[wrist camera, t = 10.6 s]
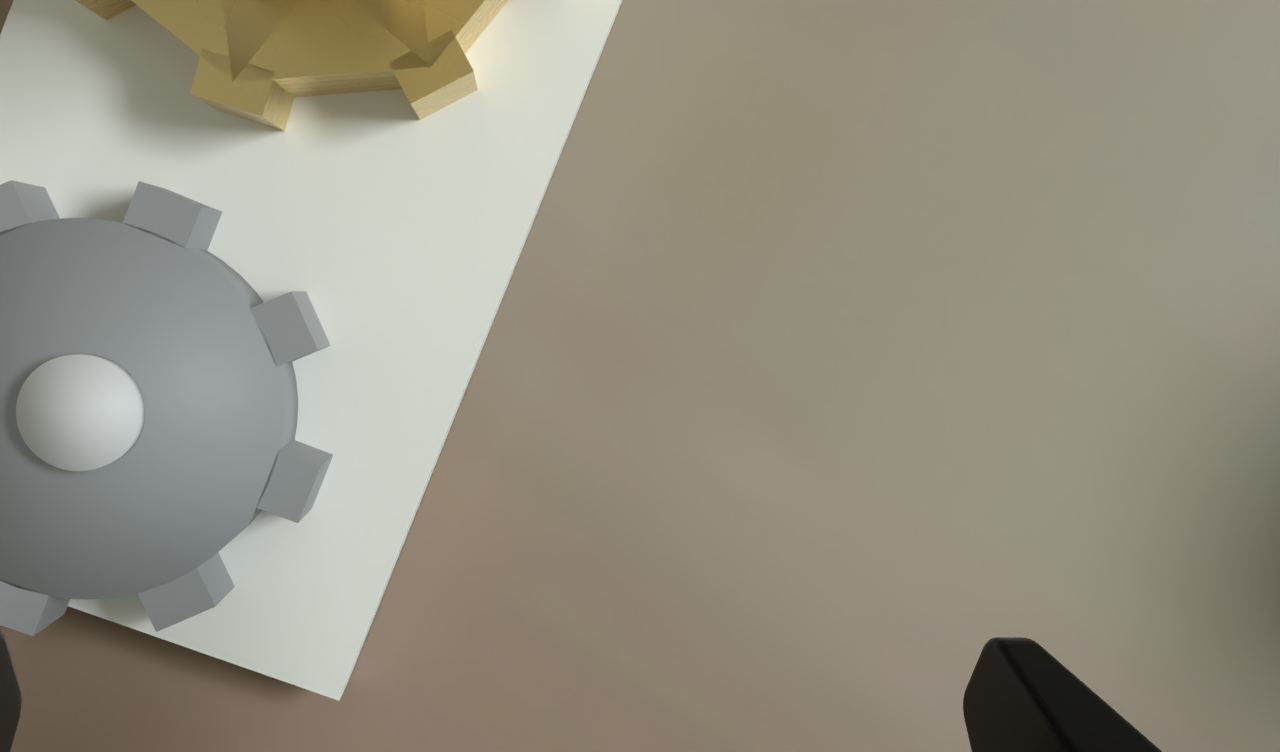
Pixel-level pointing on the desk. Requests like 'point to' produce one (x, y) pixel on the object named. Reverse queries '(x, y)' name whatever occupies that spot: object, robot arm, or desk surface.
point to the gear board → (247, 324)
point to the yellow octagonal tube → (321, 49)
